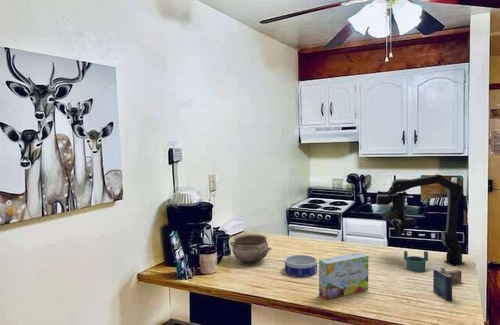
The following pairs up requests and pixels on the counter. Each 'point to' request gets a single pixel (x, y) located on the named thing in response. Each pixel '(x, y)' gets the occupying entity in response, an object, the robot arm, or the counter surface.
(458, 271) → the stop rail
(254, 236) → the cooking pot
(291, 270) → the dog bowl
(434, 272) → the flask
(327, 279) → the snack box
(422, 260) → the bracket
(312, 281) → the counter surface
